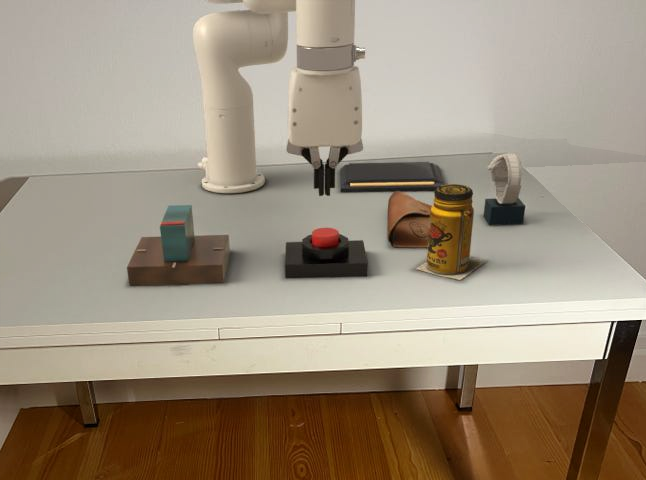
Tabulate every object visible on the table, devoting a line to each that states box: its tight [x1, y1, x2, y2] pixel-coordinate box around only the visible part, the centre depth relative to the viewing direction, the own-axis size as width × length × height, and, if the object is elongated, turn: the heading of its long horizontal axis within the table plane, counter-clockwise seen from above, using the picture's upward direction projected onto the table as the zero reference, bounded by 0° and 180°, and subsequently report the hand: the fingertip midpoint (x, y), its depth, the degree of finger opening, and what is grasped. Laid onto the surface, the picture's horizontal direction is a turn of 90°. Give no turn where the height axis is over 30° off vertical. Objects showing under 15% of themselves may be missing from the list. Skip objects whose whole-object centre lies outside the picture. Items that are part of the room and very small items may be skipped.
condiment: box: [414, 183, 487, 281], centre depth 109 cm, size 7×8×12 cm
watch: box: [483, 153, 526, 226], centre depth 125 cm, size 6×8×11 cm
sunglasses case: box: [387, 191, 433, 249], centre depth 126 cm, size 18×7×7 cm
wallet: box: [339, 161, 445, 193], centre depth 149 cm, size 20×2×15 cm
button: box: [311, 227, 340, 247], centre depth 112 cm, size 4×4×2 cm
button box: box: [284, 233, 369, 279], centre depth 114 cm, size 12×9×4 cm
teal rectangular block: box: [159, 204, 196, 262], centre depth 113 cm, size 9×4×6 cm, turn 178°
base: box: [126, 234, 231, 287], centre depth 115 cm, size 14×13×3 cm
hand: (324, 192), depth 109 cm, fingers closed
